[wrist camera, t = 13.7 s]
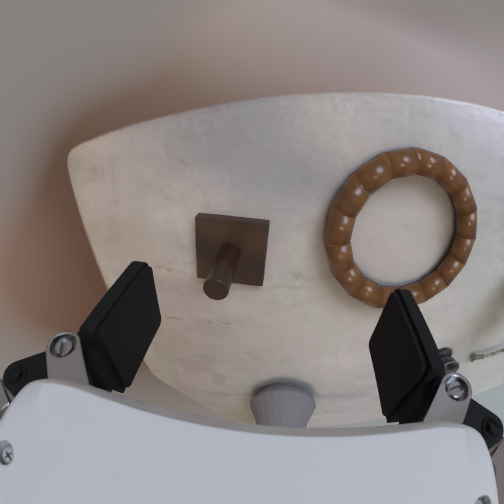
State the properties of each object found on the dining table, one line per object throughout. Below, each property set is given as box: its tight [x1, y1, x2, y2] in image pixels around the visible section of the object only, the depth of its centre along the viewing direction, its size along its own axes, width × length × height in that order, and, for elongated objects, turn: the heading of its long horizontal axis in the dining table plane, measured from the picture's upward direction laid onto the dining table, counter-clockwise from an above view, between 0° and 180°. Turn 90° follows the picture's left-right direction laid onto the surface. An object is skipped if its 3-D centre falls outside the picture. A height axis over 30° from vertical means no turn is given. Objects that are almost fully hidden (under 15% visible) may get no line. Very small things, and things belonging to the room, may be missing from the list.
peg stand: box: [195, 213, 270, 300], centre depth 29 cm, size 8×8×8 cm
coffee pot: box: [251, 383, 315, 428], centre depth 38 cm, size 21×12×15 cm, turn 95°
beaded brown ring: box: [324, 147, 477, 308], centre depth 27 cm, size 20×20×3 cm
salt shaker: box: [439, 348, 459, 374], centre depth 32 cm, size 6×6×12 cm
